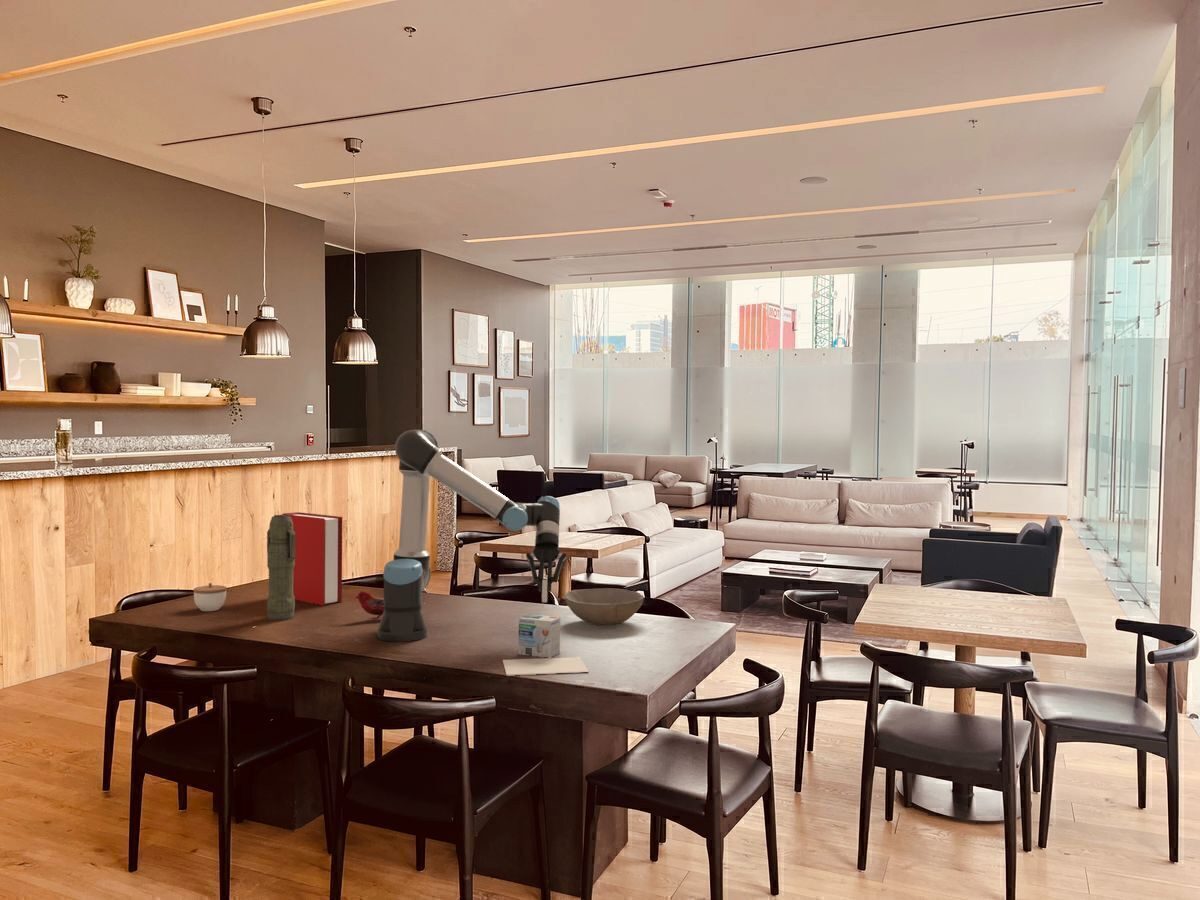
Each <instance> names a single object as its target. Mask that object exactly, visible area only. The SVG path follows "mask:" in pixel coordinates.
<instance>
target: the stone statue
mask: <svg viewBox="0 0 1200 900" xmlns="http://www.w3.org/2000/svg"><path fill="white" fill-rule="evenodd" d="M295 544H296V534H295V532H294V530H293V522H292V519H291V516H289V515H282V514H275V515H273V516H271V519H270V522H269V528H268V530H267V532H266V552H267V554H266V555H267V562H266V563H267V564H266V565H267V569H268V596H267V599H266V612H267V618H266V619H267V620H269V621H285V620H291V619H293V618H295V609H296V600H295V597H294V594H293V568H294V566H295Z"/></svg>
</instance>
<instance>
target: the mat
mask: <svg viewBox="0 0 1200 900" xmlns="http://www.w3.org/2000/svg"><path fill="white" fill-rule="evenodd" d="M502 664H503V667H504V671H505V675H506V677H512V676H513V677H515V675H520V676H537V675H536V674H547V675H557V674H556V673H574V674H579V673H578V672H590V671H589V670H588V668H587V666H586V665H585V663H584V661H583V659H582V658H581V657H579V656H577V657H551V658H544V657H542V658H522V659H521V658H520V659H518V658H514V659H502Z"/></svg>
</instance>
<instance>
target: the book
mask: <svg viewBox="0 0 1200 900" xmlns="http://www.w3.org/2000/svg"><path fill="white" fill-rule="evenodd" d="M281 515H289V516H291V519H292V522H293V530H294V532H295V534H296V544H295V566H294V568H293V594H294V597H295V599H296V600H295V601H298V600H301V601H300V602H303V601H306V602H305V603H308V602H311V603H310V604H313V603H315V604H314V605H317V604H319V605H318V606H322V605H324V606H325V604H330V603H331V604H332V603H337V602H338V603H342V602H343V600H342V599H343V595H342V594H343V516H336V515H329V514H317V513H307V512H299V511H297V512H286V513H285V512H283V513H282V514H281Z"/></svg>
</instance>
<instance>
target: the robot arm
mask: <svg viewBox="0 0 1200 900" xmlns="http://www.w3.org/2000/svg"><path fill="white" fill-rule="evenodd" d="M394 450H395V455H396V456H397V458H398V461H399V462H398V471H399V472H400V473H401V475H402V487H401V488H402V489H401V490H402V492H401V504H400V505H401V506H400V507H401V509H400V525H399V539H398V540H399V541H398V549H397V550H395V551H394V552H393V560H390V561H387V563H386V564H385V565H384V567H383V568H384V569H383V573H382V575H383V599H384V613H383V614H382V615H381V617H382V618H381V619H380V622H379V626H378V629H377V638H378V639H379V640H382V641H386V642H411V641H412V642H413V641H417V640H421V639H424V638H426V637H427V636H428V627H427V624H426V620H425V617H424V615H423V610H422V608H423V607H422V606H423V605H422V599H423V590H425V589H426V588H427V586H428V584H429V583H430V581H431V576H432V573H431V568H430V558H431V557H430V555H431V553H430V552H429V551H427V529H428V514H429V513H428V511H429V497H430V496H429V495H430V481H431V480H430V479H431V477H432V478H433V479H434V480H436V481H438V482H439V483H441V484H442V485H444V486H446V487H447V488H448V489H450V490H451V491H453V492H455V493H456V494H458V495H459V496H461V497H462V498H463V499H465V500H466V501H468V502H470V503H471V504H472V505H475V506H476V507H477V508H479V510H480V509H481V510H482V511H484V512H485V513H486V514H487V515H489V516H491V517H492V518H493V519H495V520H497V522H499V523H500V524H501V525H503V526H504V527H505V528H506V529H507V530H509V531H512V532H517V531H521V530H522V529H524V528H525V527H530V526H531V527H535V539H534V541H535V542H534V549H533V551H532V552H531V553H526V555H525V557H526V558H525V559H526V561H527V562H528V564H529V567H530V571H531V575H532V579H533V582H534V583H538V591H539V593H541V603H548V593H550V592H551V591H552V584H553V583H557V582H558V581H559V578H560V574H561V571H562V568H563V565H564V563H565V562H566V561H567V554H566V553H565V552H564V553H562V552H561V550H560V549H559V544H560V541H559V539H560V517H561V516H560V515H561V514H560V513H561V512H560V511H561V509H560V506H561V505H560V502H559V500H558V499H557V498H556V497H553V496H551V495H545V496H541V497H540V498H539V499H538V500H537V502H534V503H533V502H530V503H529V502H528V503H527V502H514V501H513V500H512V499H510V498H508V497H506V496H505V495H503V494H502V493H501V492H500V491H498V490H496V489H495V488H493V487H491V486H490V485H489V484H487V483H486V482H484V481H482V480H481V479H480V478H479V477H477V476H475V475H474V474H472V473H470V471H467V470H466V469H465V468H463V467H462V466H460V465H459V464H458V463H455V462H454V461H453V460H452V459H450V458H448V457H447V456H446V455H444V454H443V451H442V449H441V448H440V447H439V444H438V440H437V439H436V438H435V436H434V435H433V434H432V433H431V432H429V431H427V430H423V429H410V430H407V431H404V432H403V433H401V434H400V435H399V436H398V437H397V439H396V440H395V446H394ZM535 559H536V561H538V562H539V575H538V573H537V569H536V565H535V562H534V560H535ZM557 559H558V560H557ZM556 560H557V564H556V567H555V570H554V573H553V562H555V561H556ZM545 564H547V575H546V576H547V577H546V578H547V579H544V576H545Z"/></svg>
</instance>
